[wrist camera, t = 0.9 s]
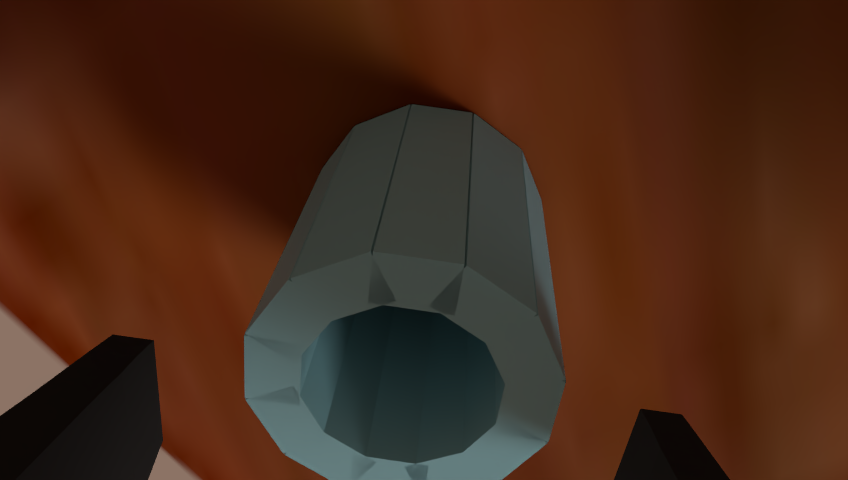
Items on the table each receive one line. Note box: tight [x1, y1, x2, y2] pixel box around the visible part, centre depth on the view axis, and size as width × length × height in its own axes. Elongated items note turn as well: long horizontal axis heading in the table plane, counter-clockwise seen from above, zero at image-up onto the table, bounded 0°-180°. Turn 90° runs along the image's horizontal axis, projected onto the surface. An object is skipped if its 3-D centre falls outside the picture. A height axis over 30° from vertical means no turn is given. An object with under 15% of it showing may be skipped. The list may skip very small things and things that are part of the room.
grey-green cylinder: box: [244, 104, 566, 480], centre depth 14 cm, size 5×5×6 cm
